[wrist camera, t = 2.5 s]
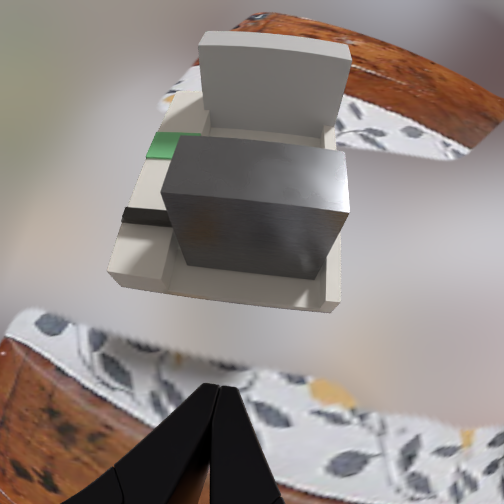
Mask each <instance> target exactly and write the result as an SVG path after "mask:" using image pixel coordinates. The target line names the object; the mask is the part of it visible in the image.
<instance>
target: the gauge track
mask: <svg viewBox="0 0 504 504" xmlns="http://www.w3.org/2000/svg"><path fill="white" fill-rule="evenodd" d="M198 50H199V62H200V73H201V83H202V92H197V91H177V92H176V94H175V96H174V98H173V100H172V102H171V104H170V106H169V109H168V111H167V113H166V115H165V117H164V119H163V121H162V124H161V126H160V128H159V130H158V132H156V134H155V136H154V139H153V141H152V143H151V146H150V148H149V150H148V153H147V155H146V160H145V163H144V166H143V168H142V170H141V173H140V175H139V178H138V180H137V183H136V185H135V188H134V191H133V193H132V196H131V199H130V201H129V204H128V207H134V208H146V209H158V210H166V208H165V205H164V202H163V199H162V196H161V193H160V191H161V188H162V185H163V182H164V179H165V176H166V173H167V171H168V168H169V165H170V162H171V159H172V156H173V154H174V151H175V148H176V146H177V143H178V140H179V138H180V135H189V136H209V137H224V138H237V139H249V140H259V141H269V142H278V143H286V144H294V145H302V146H309V147H316V148H323V149H330V150H336V140H335V129H334V126H335V122H336V119H337V115H338V112H339V108H340V104H341V101H342V97H343V93H344V90H345V86H346V82H347V78H348V74H349V71H350V67H351V63H352V58H351V55H350V51H349V48H348V45H345V44H340V43H335V42H330V41H324V40H318V39H311V38H304V37H296V36H288V35H279V34H268V33H254V32H234V31H206V33H205V35H204V36H203V38H202V40H201V41H200V43H199V44H198ZM121 222H122V224H121V227H120V230H119V233H118V236H117V239H116V242H115V246H114V249H113V252H112V255H111V258H110V262H109V266H108V269H107V272H108V273H109V274H110V275H111V276H112V277H113V278H114V279H115V281H116V282H117V283H118V284H119V285H121V287H126V288H132V289H138V290H144V291H151V292H158V293H164V294H171V295H177V296H184V297H191V298H199V299H206V300H214V301H222V302H229V303H237V304H246V305H254V306H263V307H273V308H282V309H291V310H301V311H312V312H323V313H331V312H332V311H333V310H334V309H335V308H336V307H337V306H338V305H339V303H340V302H341V235H340V233H339V235H338V237H337V238H336V240H335V242H334V244H333V246H332V248H331V250H330V252H329V254H328V256H327V257H326V259H325V261H324V263H323V265H322V267H321V269H320V271H319V272H318V274H317V276H316V278H315V280H309V279H300V278H290V277H281V276H272V275H263V274H255V273H246V272H237V271H229V270H220V269H212V268H204V267H196V266H188V265H187V264H186V261H185V259H184V256H183V254H182V251H181V248H180V246H179V243H178V240H177V238H176V235H175V232H174V230H173V227H172V226H169V225H159V224H149V223H138V222H128V221H124V219H123V217H122V220H121Z"/></svg>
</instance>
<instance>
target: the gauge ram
mask: <svg viewBox="0 0 504 504" xmlns="http://www.w3.org/2000/svg"><path fill="white" fill-rule="evenodd" d="M160 193H161V196H162V199H163V202H164V205H165V208H166V210H158V209H146V208H134V207H126V208H125V210H124V213H123V215H122V217H123V219H124V221H128V222H138V223H149V224H159V225H169V226H172V227H173V230H174V232H175V235H176V238H177V240H178V243H179V246H180V248H181V251H182V254H183V256H184V259H185V261H186V264H187V265H188V266H196V267H204V268H212V269H220V270H229V271H237V272H246V273H255V274H263V275H272V276H281V277H290V278H300V279H309V280H315V278H316V276H317V274H318V272H319V271H320V269H321V267H322V265H323V263H324V261H325V259H326V257H327V256H328V254H329V252H330V250H331V248H332V246H333V244H334V242H335V240H336V238H337V237H338V235H339V233H340V231H341V228H342V227H343V225H344V223H345V221H346V219H347V217H348V215H349V213H350V211H349V195H348V182H347V170H346V158H345V152H342V151H336V150H330V149H323V148H316V147H309V146H302V145H294V144H286V143H278V142H269V141H259V140H249V139H237V138H224V137H209V136H189V135H180V138H179V140H178V143H177V146H176V148H175V151H174V154H173V156H172V159H171V162H170V165H169V168H168V171H167V173H166V176H165V179H164V182H163V185H162V188H161V191H160Z"/></svg>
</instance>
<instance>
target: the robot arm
mask: <svg viewBox="0 0 504 504" xmlns="http://www.w3.org/2000/svg"><path fill="white" fill-rule="evenodd" d="M209 466H210V504H285V502H284V499H283V498H282V497H280V496H281V493H280V491H279V489H278V486H277V484H276V482H275V479H274V477H273V475H272V472H271V470H270V468H269V465H268V463H267V461H266V458H265V456H264V453H263V451H262V448H261V446H260V444H259V441H258V439H257V436H256V434H255V431H254V429H253V426H252V424H251V421H250V419H249V416H248V413H247V411H246V408H245V406H244V403H243V400H242V398H241V395H240V392H239V390H238V388H236V387H230V386H221V387H220V386H219V385H216V384H209V383H203V384H202V385H200V386H199V387H198V388H197V389H196V390H195V391H194V392H193V393H192V394H191V395H190V396H189V397H188V398H187V399H186V400H185V401H184V402H183V403H182V404H181V405H180V406H179V407H177V408H176V409H175V410H174V411H173V412H172V413H171V414H170V415H169V416H168V417H167V418H166V419H165V420H164V421H162V422H161V423H160V424H159V425H158V426H157V427H156V428H155V429H154V430H153V431H152V432H150V433H149V434H148V435H147V436H146V437H145V438H144V439H143V440H142V441H140V442H139V443H138V444H137V445H136V446H135V447H134V448H133V449H131V450H130V451H129V452H128V453H127V454H126V455H125V456H124V457H122V458H121V459H120V460H119V461H118V462H117V463H115V464H114V467H111V468H109V469H108V470H107V471H106V472H105V473H104V474H102V475H101V476H100V477H99V478H97V479H96V480H95V481H94V482H92V483H91V484H90V485H88V486H87V487H86V488H84V489H83V490H81V491H80V492H78V493H77V494H75V495H74V496H72V497H70V498H69V499H67V500H66V501H64V502H62V503H60V504H198V501H199V498H200V495H201V492H202V489H203V485H204V482H205V479H206V476H207V473H208V470H209Z"/></svg>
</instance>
